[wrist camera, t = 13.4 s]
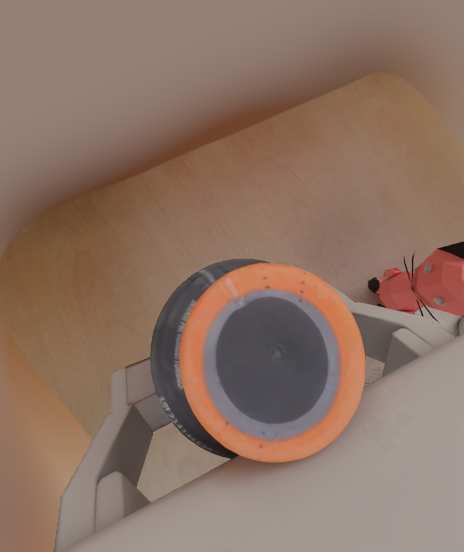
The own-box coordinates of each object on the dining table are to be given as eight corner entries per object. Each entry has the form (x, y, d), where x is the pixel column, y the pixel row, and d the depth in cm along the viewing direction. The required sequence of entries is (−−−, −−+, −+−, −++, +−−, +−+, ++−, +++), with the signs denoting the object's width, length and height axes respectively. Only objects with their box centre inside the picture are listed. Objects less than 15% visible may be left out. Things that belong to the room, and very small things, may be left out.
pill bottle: (285, 330, 17) (452, 311, 6) (237, 420, 15) (350, 612, 4) (206, 280, 17) (231, 171, 6) (150, 364, 15) (49, 419, 4)
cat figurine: (353, 273, 33) (441, 236, 21) (400, 265, 34) (507, 226, 23) (370, 330, 31) (474, 324, 20) (419, 319, 33) (543, 308, 21)
